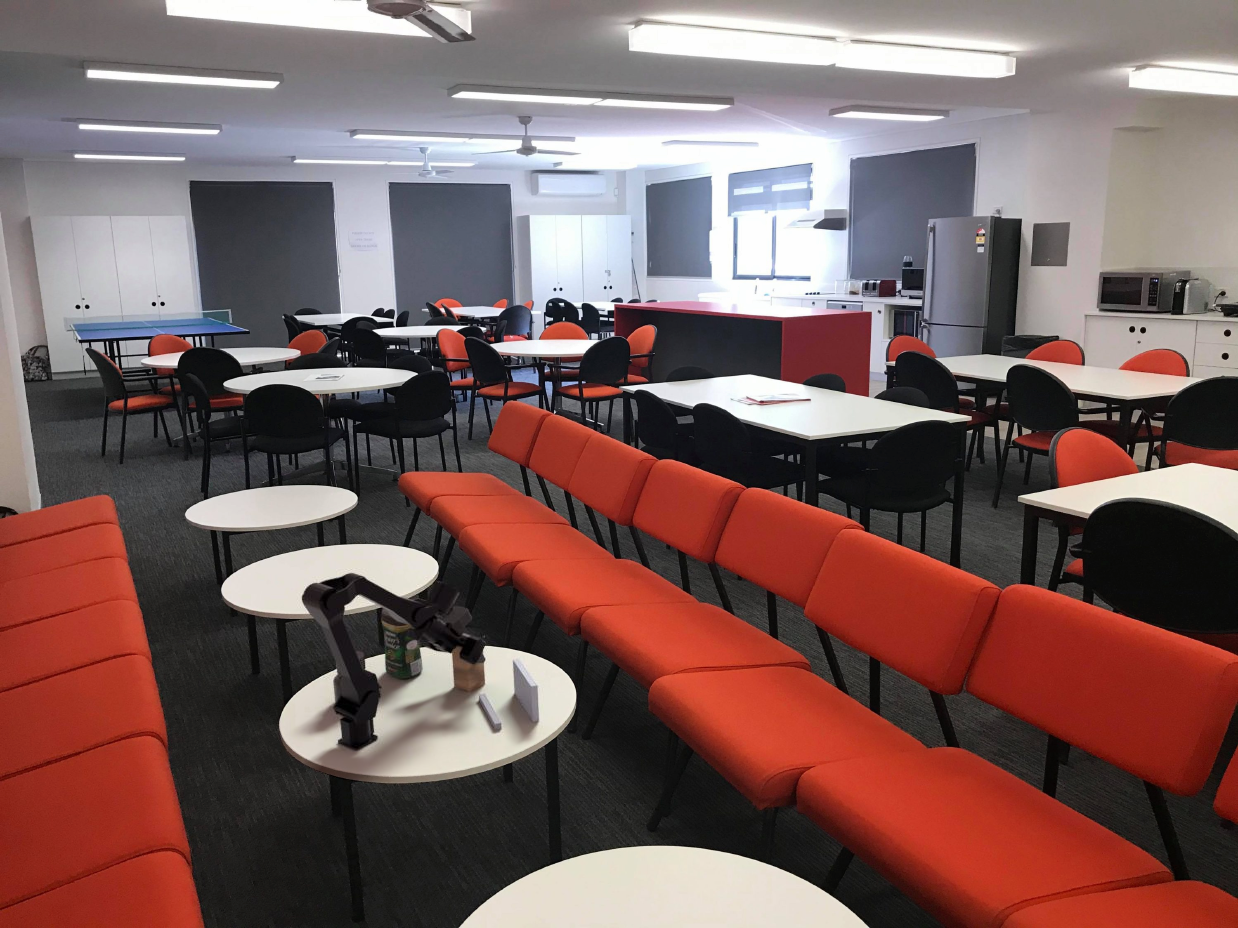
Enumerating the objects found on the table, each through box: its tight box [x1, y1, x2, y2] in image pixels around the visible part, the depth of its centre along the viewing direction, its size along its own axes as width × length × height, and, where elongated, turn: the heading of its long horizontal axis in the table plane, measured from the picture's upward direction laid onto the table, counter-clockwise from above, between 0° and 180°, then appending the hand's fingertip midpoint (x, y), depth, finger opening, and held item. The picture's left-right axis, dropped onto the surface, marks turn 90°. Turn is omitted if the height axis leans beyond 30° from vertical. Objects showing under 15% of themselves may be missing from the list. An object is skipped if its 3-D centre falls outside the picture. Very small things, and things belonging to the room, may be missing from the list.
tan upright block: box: [451, 632, 486, 693], centre depth 235 cm, size 6×6×14 cm
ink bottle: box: [332, 650, 366, 704], centre depth 228 cm, size 10×9×12 cm
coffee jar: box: [380, 608, 424, 680], centre depth 243 cm, size 10×8×19 cm
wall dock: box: [478, 658, 540, 731], centre depth 222 cm, size 10×16×9 cm, turn 22°
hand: (471, 656), depth 236 cm, fingers open, 9 cm apart
